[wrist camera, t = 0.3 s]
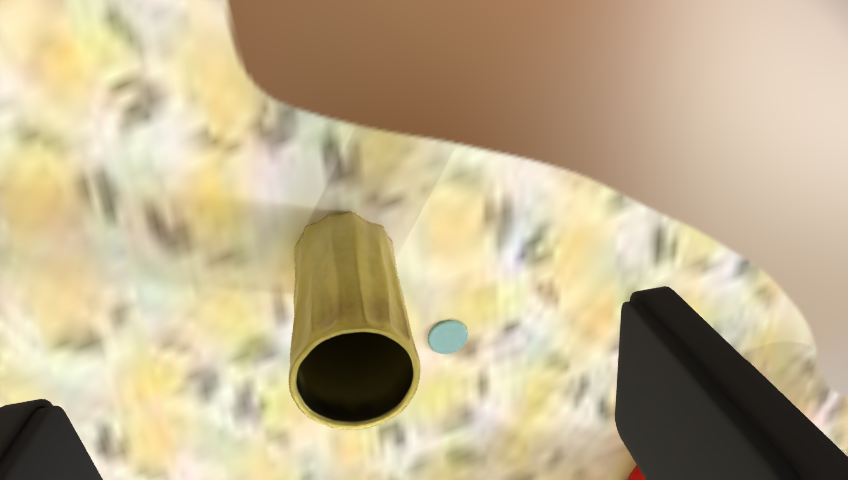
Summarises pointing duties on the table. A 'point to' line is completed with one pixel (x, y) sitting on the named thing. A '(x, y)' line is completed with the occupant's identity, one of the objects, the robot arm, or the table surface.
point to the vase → (350, 326)
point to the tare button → (447, 337)
